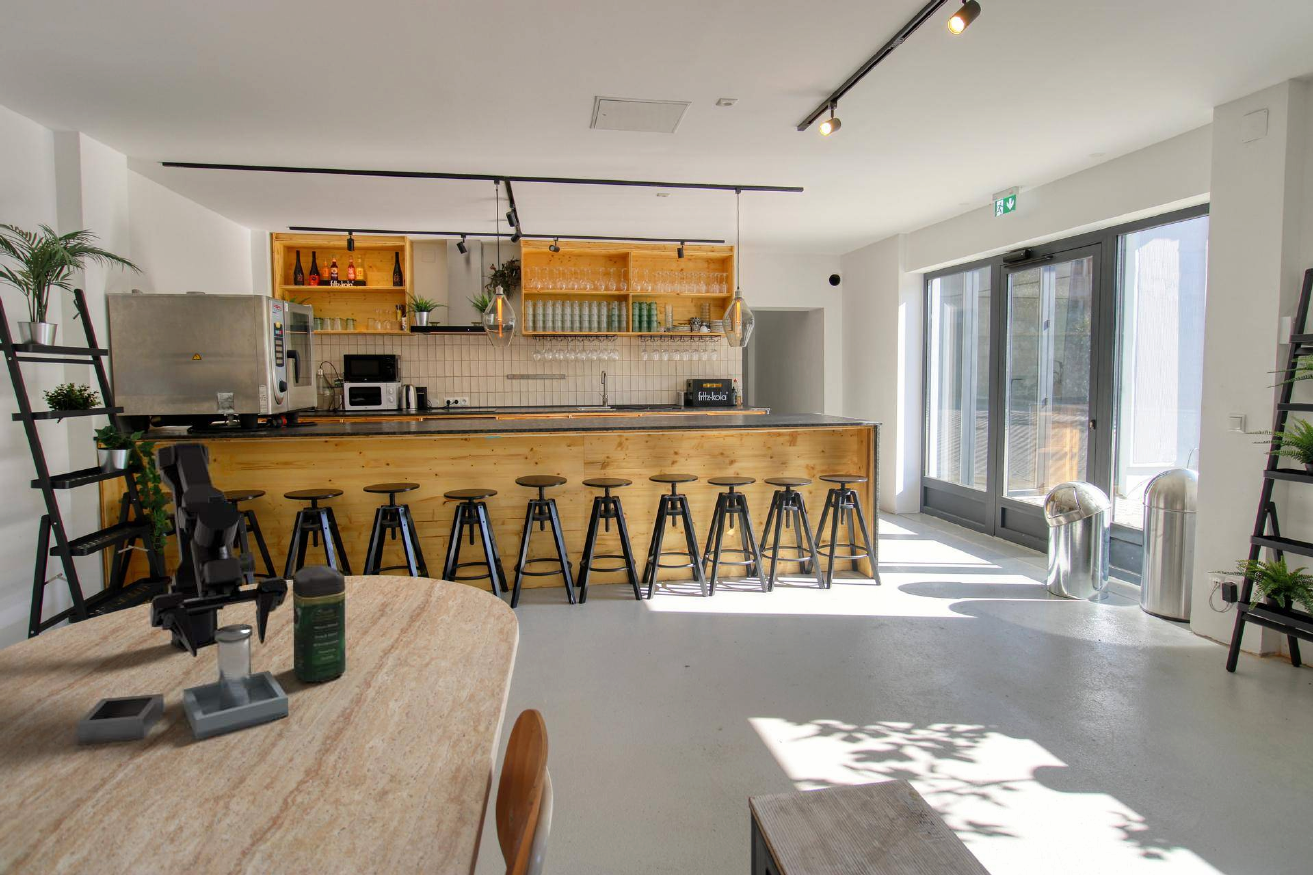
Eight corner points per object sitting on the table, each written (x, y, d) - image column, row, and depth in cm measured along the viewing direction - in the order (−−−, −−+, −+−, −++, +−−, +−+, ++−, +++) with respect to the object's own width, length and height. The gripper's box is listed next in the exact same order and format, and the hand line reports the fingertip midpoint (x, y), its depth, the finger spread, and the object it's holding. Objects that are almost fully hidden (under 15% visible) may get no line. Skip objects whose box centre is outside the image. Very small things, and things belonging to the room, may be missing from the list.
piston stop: (232, 696, 116) (230, 623, 115) (261, 699, 115) (259, 625, 114) (209, 711, 111) (206, 634, 110) (239, 714, 110) (236, 636, 109)
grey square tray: (102, 717, 110) (101, 698, 110) (164, 712, 112) (163, 693, 112) (77, 744, 102) (76, 724, 102) (143, 738, 104) (143, 718, 104)
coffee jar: (351, 677, 126) (350, 572, 125) (301, 688, 122) (299, 579, 120) (337, 657, 134) (336, 558, 132) (289, 667, 129) (287, 565, 128)
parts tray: (183, 708, 114) (183, 689, 113) (269, 687, 121) (268, 670, 121) (197, 740, 105) (196, 720, 104) (288, 715, 112) (288, 697, 112)
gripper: (149, 545, 111) (162, 638, 104) (284, 529, 123) (303, 612, 116) (145, 581, 118) (156, 672, 110) (273, 564, 130) (290, 644, 123)
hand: (229, 648), depth 115 cm, fingers open, 9 cm apart
